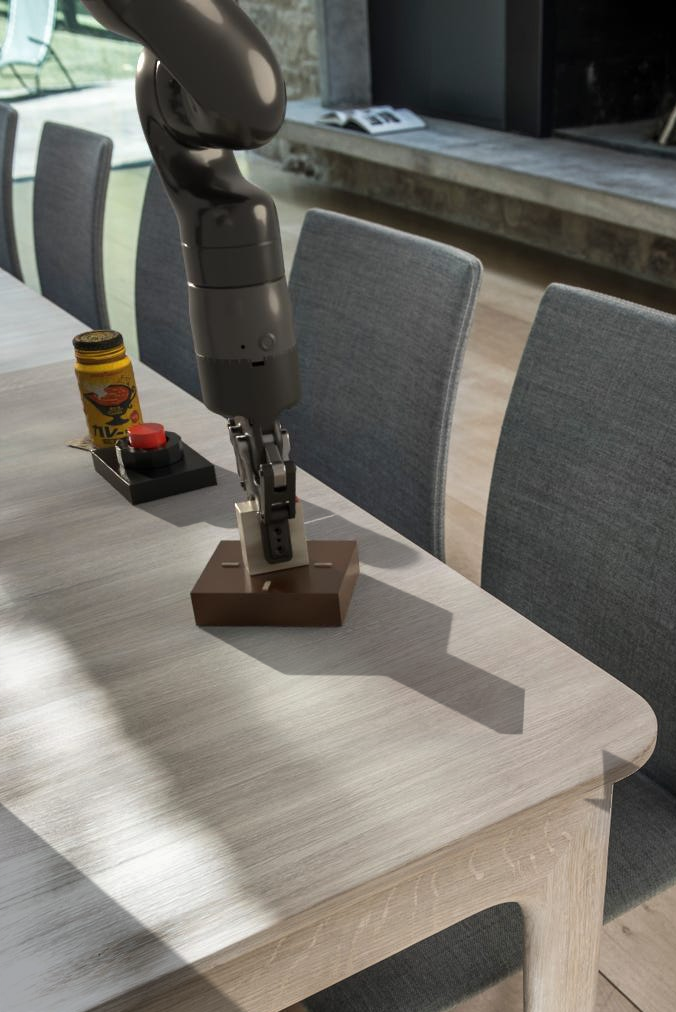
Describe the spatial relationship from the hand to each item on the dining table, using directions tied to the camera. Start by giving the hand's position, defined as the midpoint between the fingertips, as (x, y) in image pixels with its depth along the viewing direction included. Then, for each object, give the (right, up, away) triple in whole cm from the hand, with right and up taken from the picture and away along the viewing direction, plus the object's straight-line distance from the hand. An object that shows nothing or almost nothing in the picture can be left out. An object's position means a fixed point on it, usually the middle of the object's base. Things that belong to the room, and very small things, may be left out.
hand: (275, 553), depth 95 cm
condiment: (-25, +18, +36) cm, 47 cm away
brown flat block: (0, -3, +2) cm, 4 cm away
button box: (-17, +12, +26) cm, 33 cm away
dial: (0, -1, +1) cm, 1 cm away
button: (-17, +15, +24) cm, 33 cm away
